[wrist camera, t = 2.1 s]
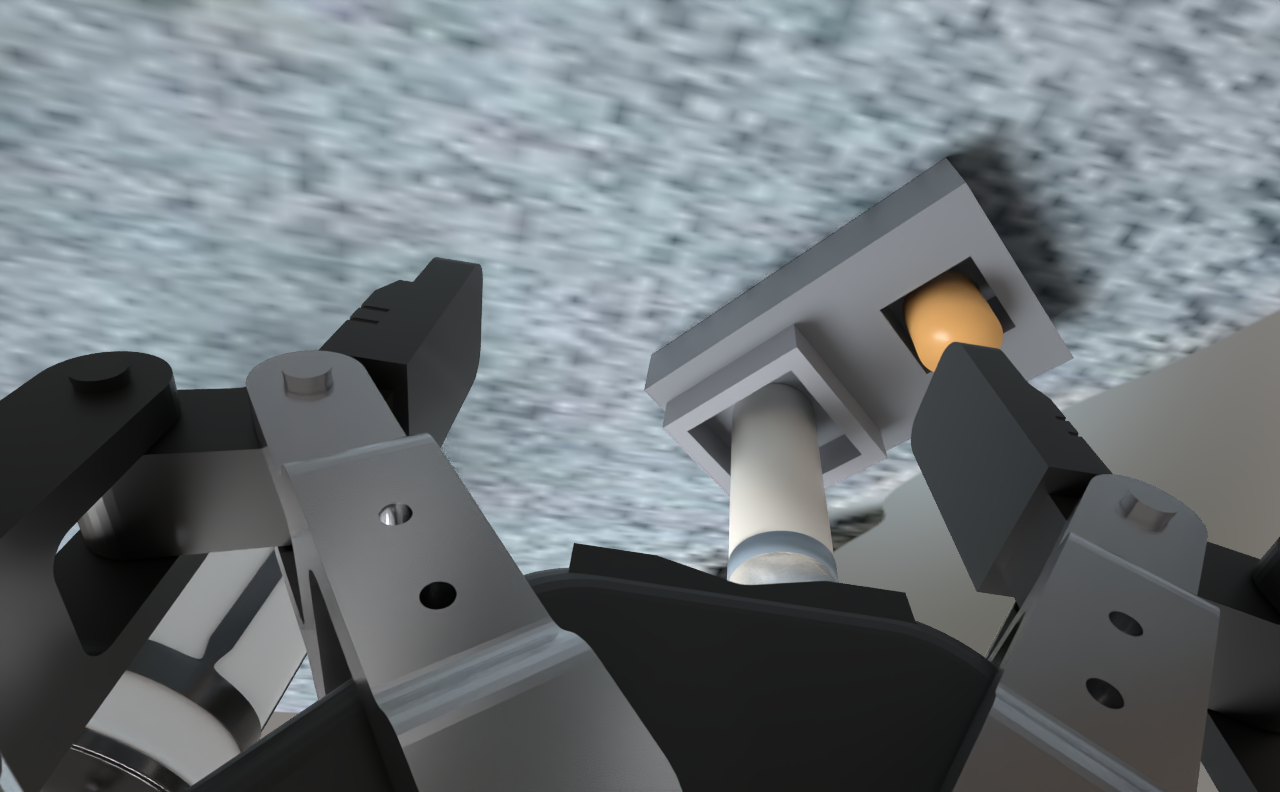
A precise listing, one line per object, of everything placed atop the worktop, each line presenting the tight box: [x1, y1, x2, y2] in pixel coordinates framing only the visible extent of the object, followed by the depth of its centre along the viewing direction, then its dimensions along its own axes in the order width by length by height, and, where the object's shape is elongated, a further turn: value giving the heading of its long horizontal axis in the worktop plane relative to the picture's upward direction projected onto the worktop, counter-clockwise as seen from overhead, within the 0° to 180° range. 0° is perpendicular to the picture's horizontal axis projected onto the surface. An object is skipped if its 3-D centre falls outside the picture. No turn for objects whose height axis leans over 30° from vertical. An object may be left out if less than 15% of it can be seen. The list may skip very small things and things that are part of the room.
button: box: [902, 271, 1003, 372], centre depth 37 cm, size 4×4×4 cm
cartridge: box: [727, 383, 839, 585], centre depth 37 cm, size 5×5×13 cm
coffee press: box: [39, 547, 307, 792], centre depth 43 cm, size 17×16×30 cm
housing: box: [644, 158, 1073, 496], centre depth 40 cm, size 20×12×6 cm, turn 131°
